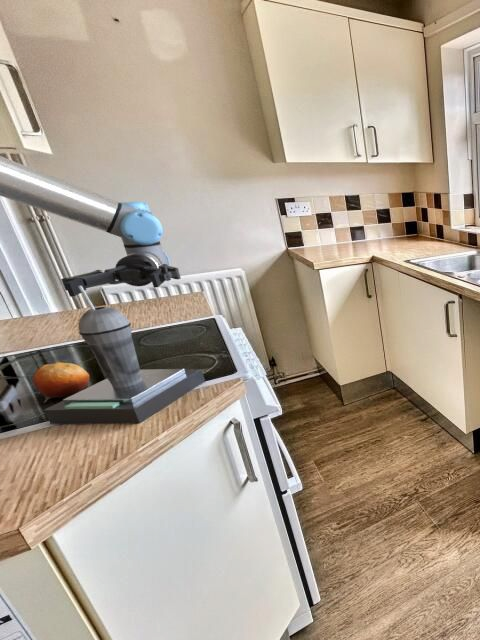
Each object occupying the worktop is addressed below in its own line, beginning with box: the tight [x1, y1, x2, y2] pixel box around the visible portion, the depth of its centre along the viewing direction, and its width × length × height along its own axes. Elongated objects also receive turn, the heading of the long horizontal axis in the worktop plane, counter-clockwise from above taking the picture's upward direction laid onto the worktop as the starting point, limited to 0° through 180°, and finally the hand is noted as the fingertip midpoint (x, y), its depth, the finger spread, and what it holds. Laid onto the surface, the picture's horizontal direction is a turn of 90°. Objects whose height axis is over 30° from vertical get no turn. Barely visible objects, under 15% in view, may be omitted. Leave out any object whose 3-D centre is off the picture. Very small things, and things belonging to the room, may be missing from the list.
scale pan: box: [62, 368, 185, 404], centre depth 84 cm, size 13×13×1 cm
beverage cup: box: [78, 286, 142, 388], centre depth 80 cm, size 7×7×20 cm
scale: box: [43, 368, 206, 425], centre depth 84 cm, size 17×17×4 cm
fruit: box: [32, 361, 90, 404], centre depth 87 cm, size 8×8×8 cm
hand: (113, 285), depth 88 cm, fingers open, 13 cm apart
